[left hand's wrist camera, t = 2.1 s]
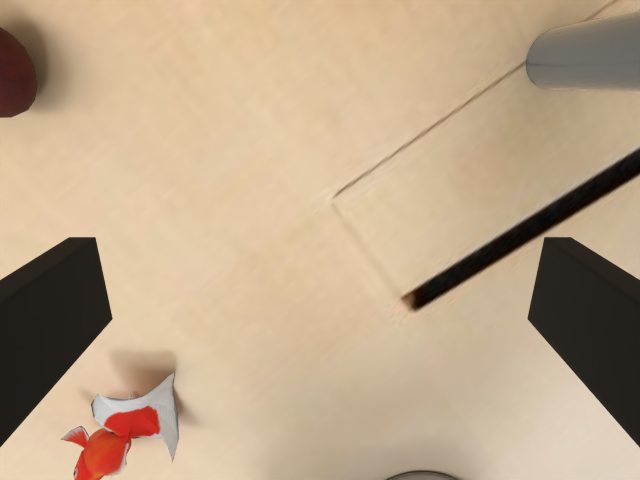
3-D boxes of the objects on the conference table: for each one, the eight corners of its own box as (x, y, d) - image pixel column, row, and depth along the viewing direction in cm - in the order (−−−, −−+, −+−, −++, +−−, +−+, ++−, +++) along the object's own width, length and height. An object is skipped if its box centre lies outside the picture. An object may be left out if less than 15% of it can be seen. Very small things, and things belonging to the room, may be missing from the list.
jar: (524, 35, 35) (696, -4, 19) (583, 21, 35) (809, -30, 19) (526, 95, 37) (685, 105, 21) (583, 82, 36) (788, 83, 20)
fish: (18, 422, 44) (15, 502, 37) (143, 327, 48) (163, 383, 40) (90, 459, 51) (100, 534, 43) (195, 373, 54) (221, 428, 47)
